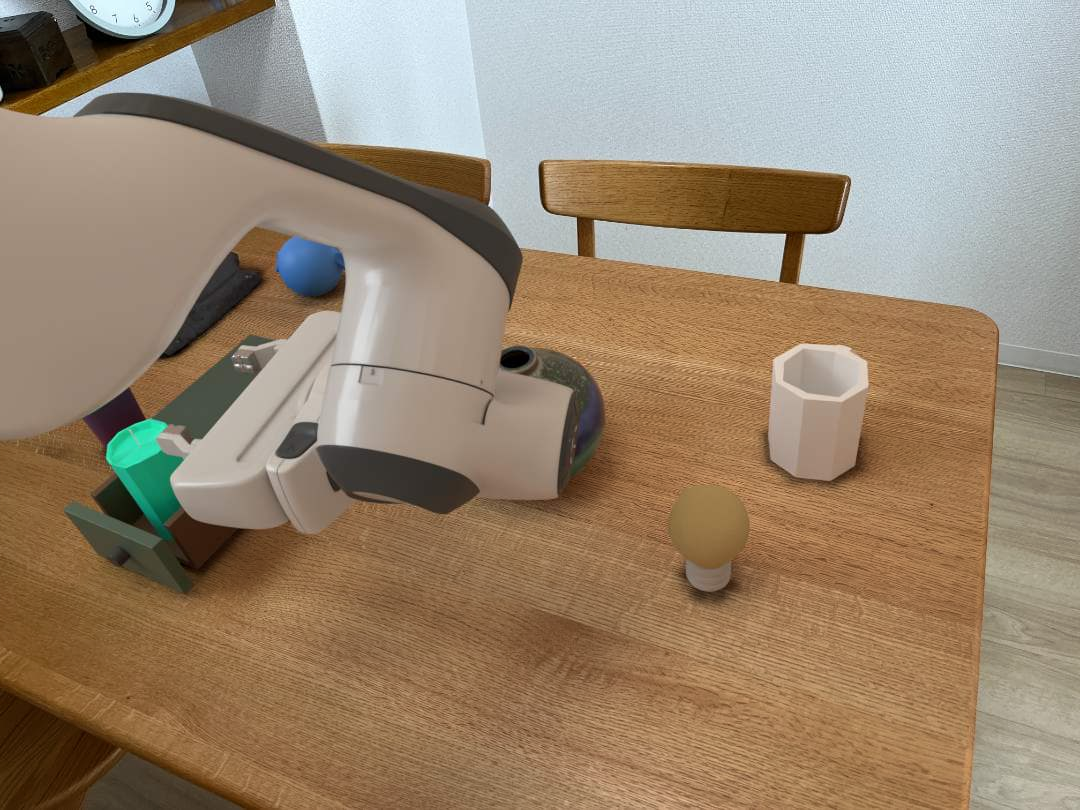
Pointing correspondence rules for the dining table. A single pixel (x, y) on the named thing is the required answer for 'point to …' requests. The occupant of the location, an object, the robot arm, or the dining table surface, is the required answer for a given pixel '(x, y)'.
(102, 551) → the drawer
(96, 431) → the cup
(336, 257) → the blue mole toy
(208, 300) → the dark slate chunk
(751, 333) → the dining table surface
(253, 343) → the cabinet
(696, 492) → the light bulb
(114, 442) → the candle
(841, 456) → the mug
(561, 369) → the vase
